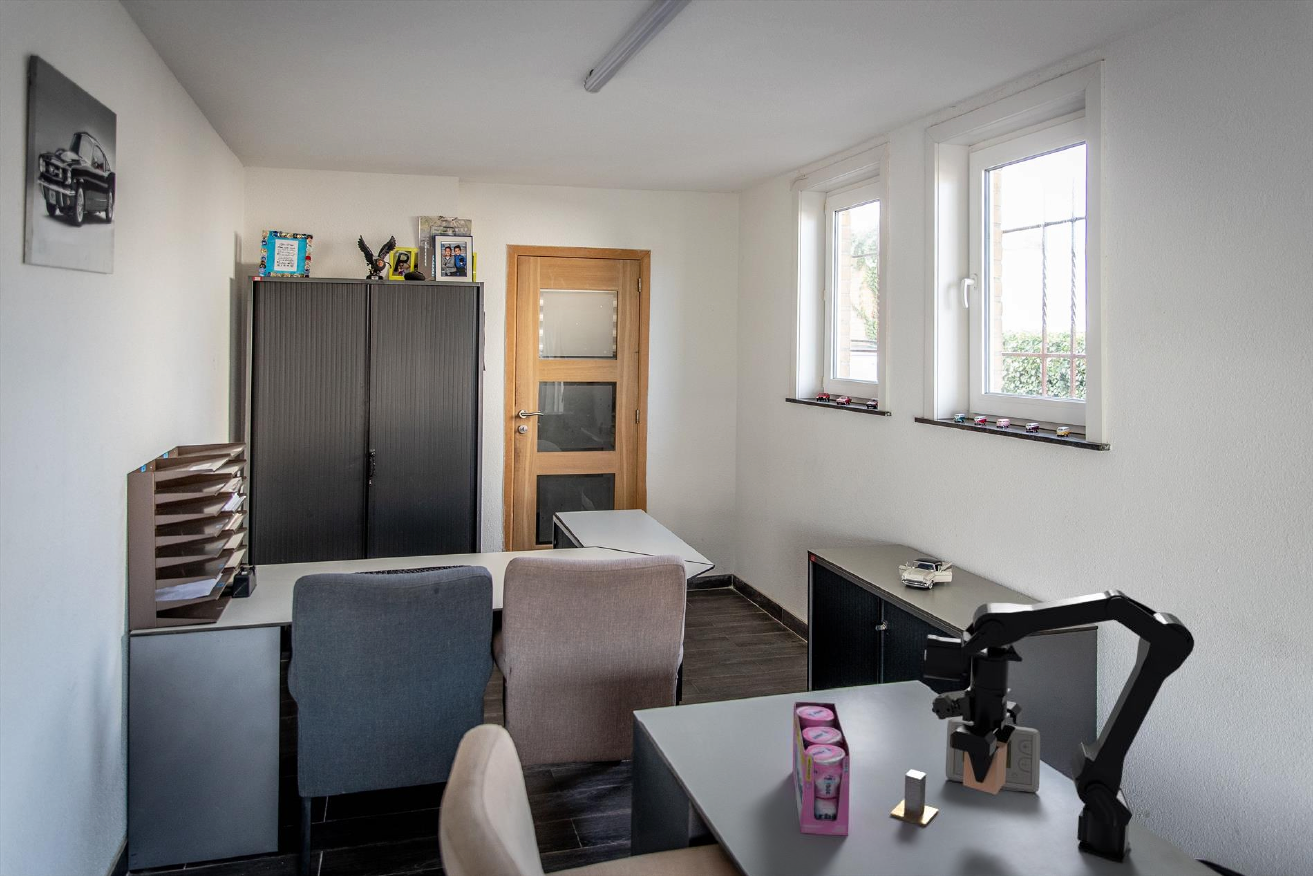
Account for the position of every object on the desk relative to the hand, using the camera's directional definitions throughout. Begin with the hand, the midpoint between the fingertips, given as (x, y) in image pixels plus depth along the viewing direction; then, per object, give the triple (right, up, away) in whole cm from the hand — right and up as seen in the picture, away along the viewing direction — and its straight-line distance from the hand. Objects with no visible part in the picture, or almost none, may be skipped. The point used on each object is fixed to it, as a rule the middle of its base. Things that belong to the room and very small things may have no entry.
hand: (984, 775), depth 150 cm
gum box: (-25, -8, +10) cm, 29 cm away
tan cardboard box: (0, -1, 0) cm, 1 cm away
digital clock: (+7, -8, +18) cm, 21 cm away
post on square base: (-10, -9, +6) cm, 14 cm away
